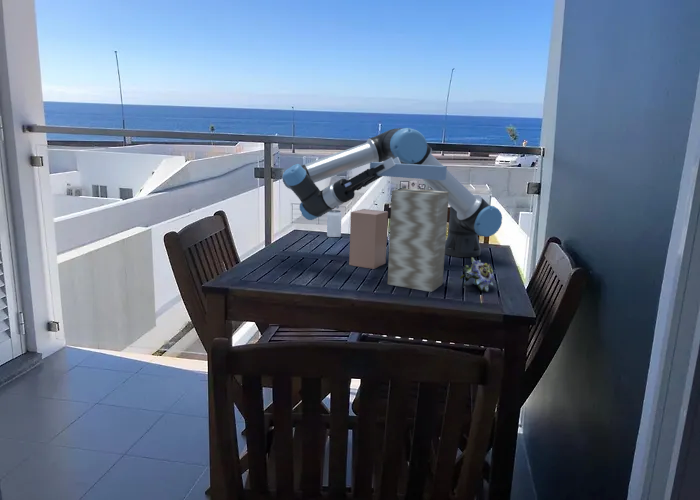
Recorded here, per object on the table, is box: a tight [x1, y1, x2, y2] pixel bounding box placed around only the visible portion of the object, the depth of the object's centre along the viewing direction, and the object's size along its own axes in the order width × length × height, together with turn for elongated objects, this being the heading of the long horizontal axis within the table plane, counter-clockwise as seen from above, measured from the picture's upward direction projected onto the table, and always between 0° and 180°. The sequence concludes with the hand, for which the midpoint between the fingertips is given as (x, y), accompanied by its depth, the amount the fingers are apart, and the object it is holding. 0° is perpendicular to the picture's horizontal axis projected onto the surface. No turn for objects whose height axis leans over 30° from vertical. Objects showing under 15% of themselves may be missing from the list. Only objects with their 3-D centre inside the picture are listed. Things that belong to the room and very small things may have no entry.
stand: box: [387, 187, 449, 293], centre depth 166 cm, size 15×10×30 cm, turn 62°
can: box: [326, 209, 342, 238], centre depth 242 cm, size 6×6×12 cm
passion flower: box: [459, 257, 495, 293], centre depth 167 cm, size 11×11×12 cm
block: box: [348, 208, 389, 270], centre depth 191 cm, size 10×10×20 cm
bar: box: [369, 162, 448, 180], centre depth 164 cm, size 24×4×4 cm, turn 62°
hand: (396, 161), depth 165 cm, fingers closed on bar, 4 cm apart
